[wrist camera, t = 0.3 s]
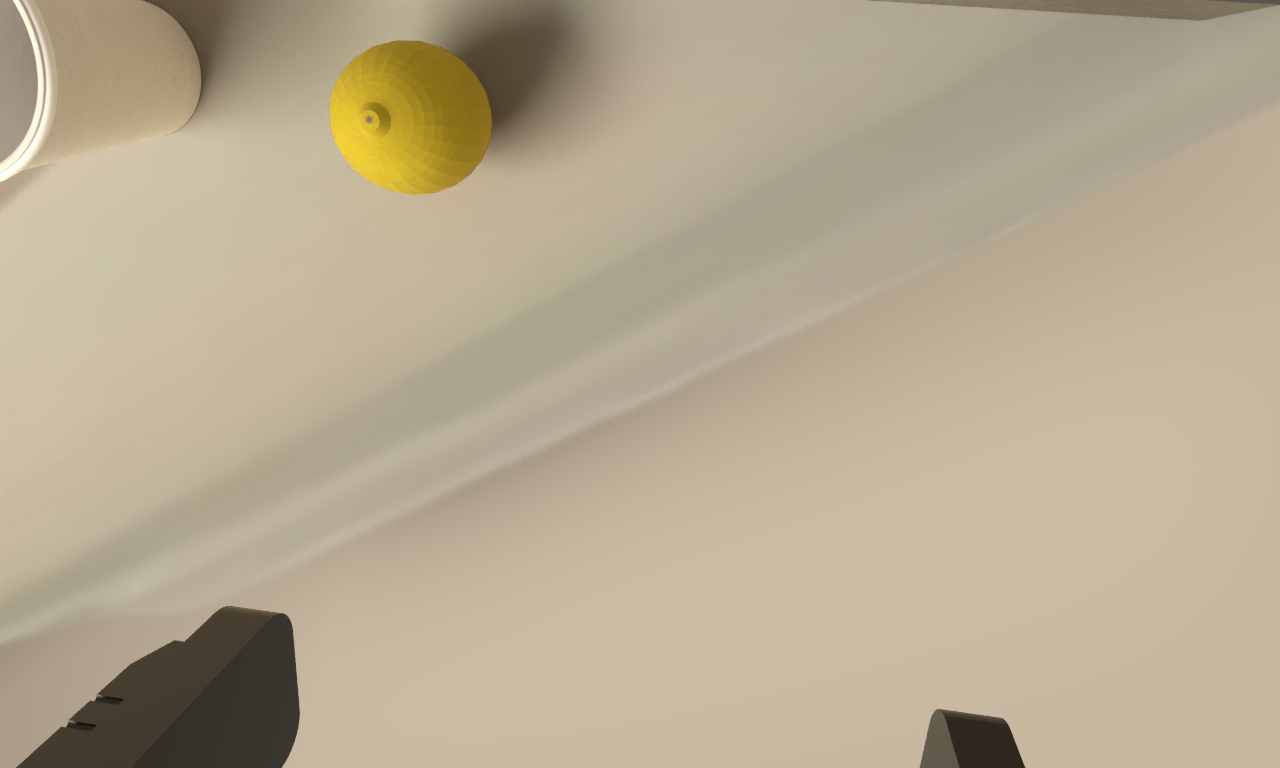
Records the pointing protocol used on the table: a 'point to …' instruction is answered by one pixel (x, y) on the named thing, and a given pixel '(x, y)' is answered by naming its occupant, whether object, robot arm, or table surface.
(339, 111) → the lemon
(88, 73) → the dixie cup
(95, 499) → the table surface
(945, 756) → the robot arm
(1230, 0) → the panel
